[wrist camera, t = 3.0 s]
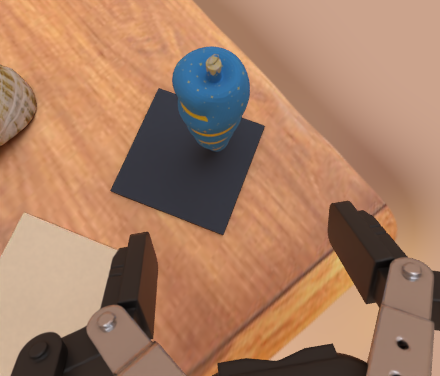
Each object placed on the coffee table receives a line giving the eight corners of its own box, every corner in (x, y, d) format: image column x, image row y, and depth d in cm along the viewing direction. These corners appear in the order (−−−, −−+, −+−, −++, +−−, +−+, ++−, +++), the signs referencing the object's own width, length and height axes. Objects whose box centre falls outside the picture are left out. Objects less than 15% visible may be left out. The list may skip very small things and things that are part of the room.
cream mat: (155, 265, 31) (154, 265, 30) (90, 420, 28) (88, 422, 28) (26, 212, 32) (23, 212, 31) (-49, 356, 29) (-53, 357, 29)
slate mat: (264, 127, 34) (264, 125, 33) (223, 235, 31) (223, 234, 31) (159, 89, 35) (158, 87, 34) (111, 191, 32) (110, 190, 32)
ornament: (179, 140, 33) (146, 45, 18) (221, 114, 34) (221, 2, 19) (207, 181, 32) (196, 115, 17) (250, 153, 33) (273, 67, 18)
